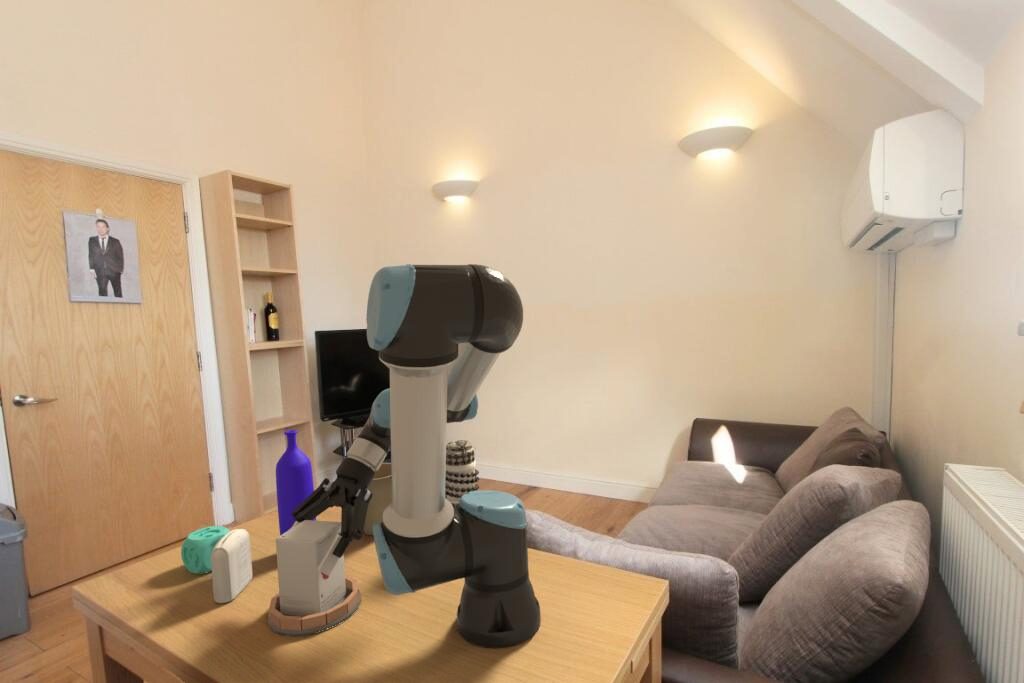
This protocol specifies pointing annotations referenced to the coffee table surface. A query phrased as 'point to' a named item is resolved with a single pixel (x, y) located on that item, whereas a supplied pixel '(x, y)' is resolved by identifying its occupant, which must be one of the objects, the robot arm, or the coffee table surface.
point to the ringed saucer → (315, 621)
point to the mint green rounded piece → (201, 548)
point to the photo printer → (231, 565)
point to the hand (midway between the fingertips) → (301, 563)
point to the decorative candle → (460, 471)
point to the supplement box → (308, 569)
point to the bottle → (292, 481)
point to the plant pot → (378, 497)
